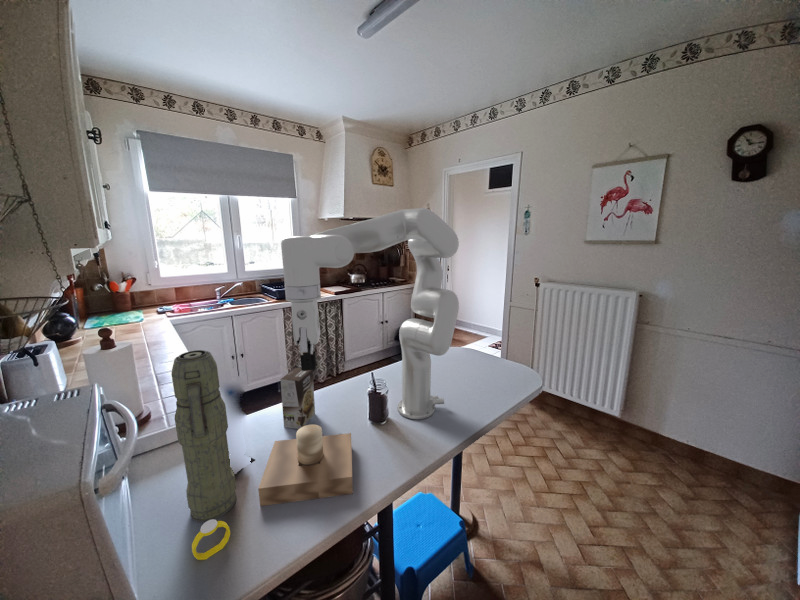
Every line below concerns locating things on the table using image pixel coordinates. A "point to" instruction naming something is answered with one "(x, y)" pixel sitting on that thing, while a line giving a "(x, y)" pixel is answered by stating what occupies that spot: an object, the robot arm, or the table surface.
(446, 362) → the table surface
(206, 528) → the watch
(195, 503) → the thermos
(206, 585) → the table surface
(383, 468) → the table surface
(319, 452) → the peg
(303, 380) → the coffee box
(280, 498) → the board
